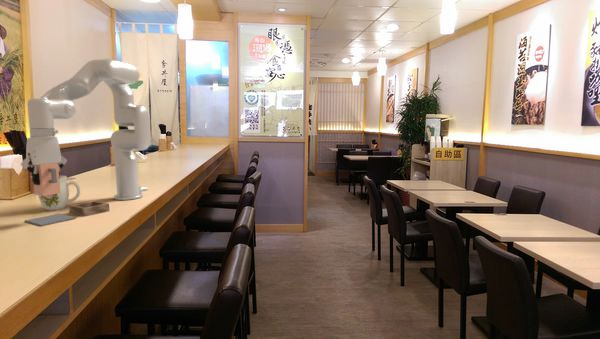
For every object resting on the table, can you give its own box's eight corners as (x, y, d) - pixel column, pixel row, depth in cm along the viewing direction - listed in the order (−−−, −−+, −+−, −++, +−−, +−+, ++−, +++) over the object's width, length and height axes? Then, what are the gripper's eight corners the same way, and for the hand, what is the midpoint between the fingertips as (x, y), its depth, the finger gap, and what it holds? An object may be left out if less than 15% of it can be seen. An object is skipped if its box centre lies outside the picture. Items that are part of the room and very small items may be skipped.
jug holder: (94, 207, 172) (94, 200, 171) (109, 210, 166) (109, 203, 166) (69, 213, 163) (68, 205, 163) (84, 216, 158) (83, 208, 157)
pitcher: (77, 210, 168) (74, 176, 166) (28, 212, 165) (24, 178, 163) (85, 204, 179) (82, 173, 177) (39, 206, 175) (36, 174, 173)
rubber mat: (58, 214, 160) (58, 213, 160) (75, 218, 154) (75, 217, 154) (24, 221, 150) (24, 220, 150) (41, 226, 144) (41, 224, 144)
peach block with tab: (51, 191, 155) (49, 162, 153) (64, 194, 150) (62, 163, 149) (34, 194, 150) (31, 164, 148) (47, 196, 145) (44, 165, 144)
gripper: (61, 132, 157) (65, 179, 159) (10, 134, 143) (15, 185, 145) (72, 132, 153) (75, 180, 155) (20, 134, 139) (25, 187, 141)
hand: (46, 182), depth 150 cm, fingers closed on peach block with tab, 6 cm apart
